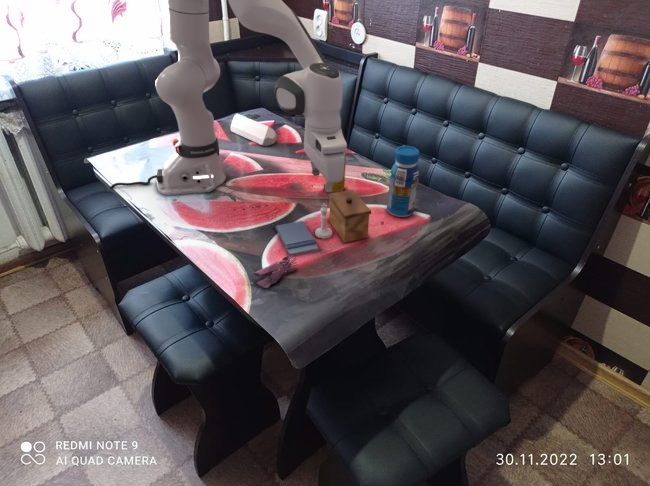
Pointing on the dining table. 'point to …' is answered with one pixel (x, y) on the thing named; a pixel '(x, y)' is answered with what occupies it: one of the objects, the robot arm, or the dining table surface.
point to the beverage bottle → (403, 182)
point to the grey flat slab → (296, 238)
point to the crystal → (253, 130)
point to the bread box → (349, 215)
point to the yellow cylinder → (340, 185)
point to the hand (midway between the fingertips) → (321, 182)
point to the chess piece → (323, 225)
